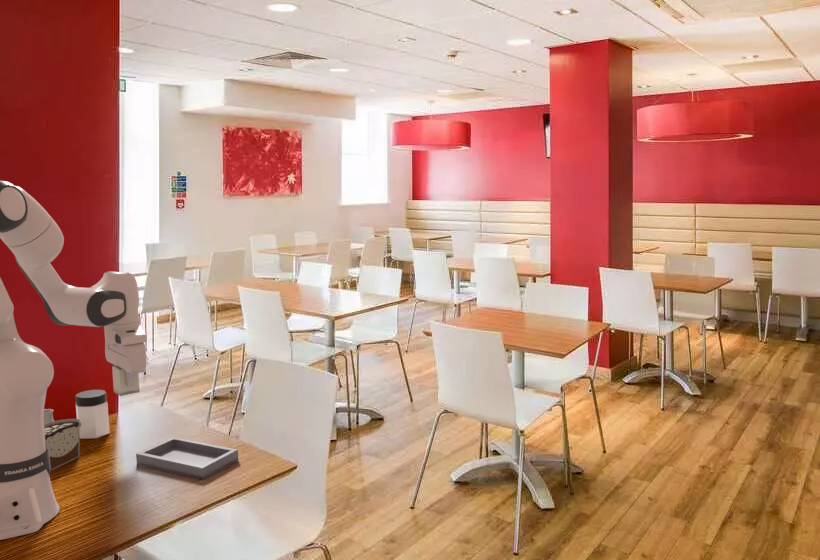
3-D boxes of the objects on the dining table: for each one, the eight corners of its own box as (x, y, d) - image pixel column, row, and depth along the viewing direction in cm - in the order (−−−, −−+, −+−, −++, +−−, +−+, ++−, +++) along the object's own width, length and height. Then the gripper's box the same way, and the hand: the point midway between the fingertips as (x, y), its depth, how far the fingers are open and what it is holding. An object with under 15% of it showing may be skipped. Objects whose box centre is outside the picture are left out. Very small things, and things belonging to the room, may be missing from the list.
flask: (51, 451, 187) (48, 415, 186) (28, 449, 189) (25, 414, 187) (69, 441, 194) (67, 407, 193) (47, 440, 196) (44, 405, 194)
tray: (203, 480, 168) (202, 468, 167) (136, 464, 177) (136, 453, 177) (238, 460, 179) (237, 449, 179) (174, 447, 189) (173, 436, 189)
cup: (120, 396, 181) (118, 367, 180) (113, 392, 184) (111, 364, 183) (139, 392, 184) (138, 364, 183) (132, 388, 188) (131, 361, 187)
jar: (97, 426, 206) (94, 387, 204) (116, 431, 202) (113, 391, 201) (70, 436, 198) (67, 396, 196) (89, 441, 194) (86, 399, 193)
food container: (65, 452, 187) (62, 416, 185) (83, 454, 185) (80, 418, 183) (26, 469, 175) (23, 431, 174) (45, 473, 173) (42, 434, 172)
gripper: (97, 328, 188) (100, 378, 190) (124, 340, 172) (127, 394, 174) (121, 325, 192) (124, 373, 194) (149, 336, 177) (152, 389, 178)
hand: (126, 383), depth 184 cm, fingers closed on cup, 5 cm apart
